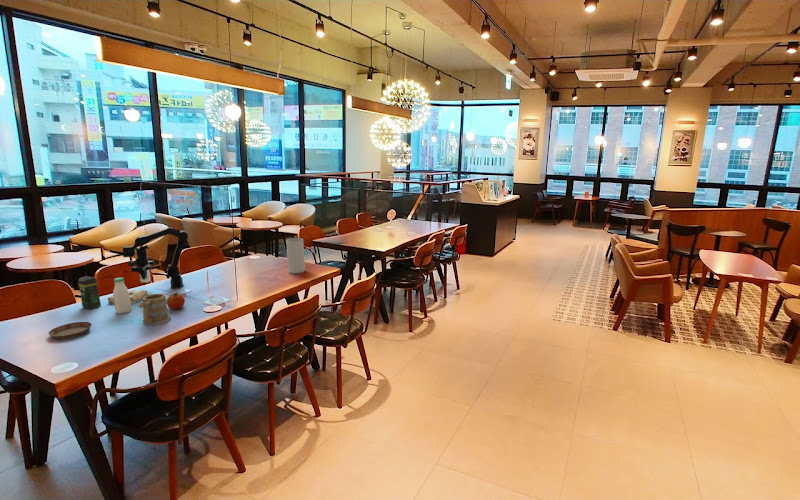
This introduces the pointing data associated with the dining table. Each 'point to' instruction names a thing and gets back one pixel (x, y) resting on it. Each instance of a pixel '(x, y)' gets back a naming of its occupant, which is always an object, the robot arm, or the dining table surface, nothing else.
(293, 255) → the cylinder vase
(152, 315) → the tankard
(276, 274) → the dining table surface
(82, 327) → the plant saucer
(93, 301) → the coffee jar
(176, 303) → the fruit
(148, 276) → the tall grey box
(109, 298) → the well block
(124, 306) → the milk bottle
